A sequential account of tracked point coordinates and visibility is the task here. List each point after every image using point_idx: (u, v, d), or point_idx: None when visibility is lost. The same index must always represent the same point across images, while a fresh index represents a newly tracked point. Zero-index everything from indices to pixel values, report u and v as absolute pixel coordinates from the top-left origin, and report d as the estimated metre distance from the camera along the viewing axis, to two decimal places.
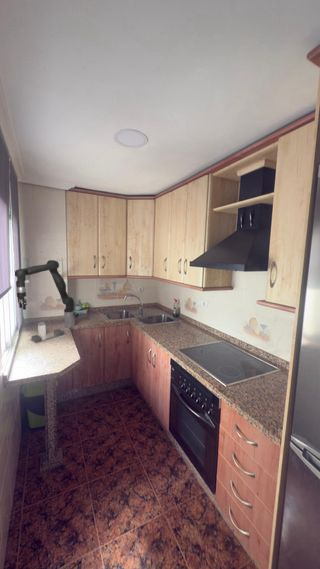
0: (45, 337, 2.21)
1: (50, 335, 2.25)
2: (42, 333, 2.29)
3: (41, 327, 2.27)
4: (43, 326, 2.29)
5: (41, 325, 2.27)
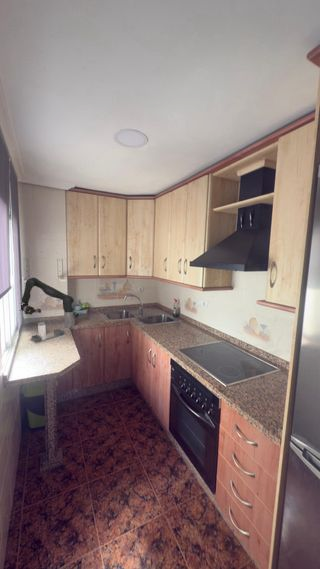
0: (45, 337, 2.21)
1: (50, 335, 2.25)
2: (42, 333, 2.29)
3: (41, 327, 2.27)
4: (43, 326, 2.29)
5: (41, 325, 2.27)
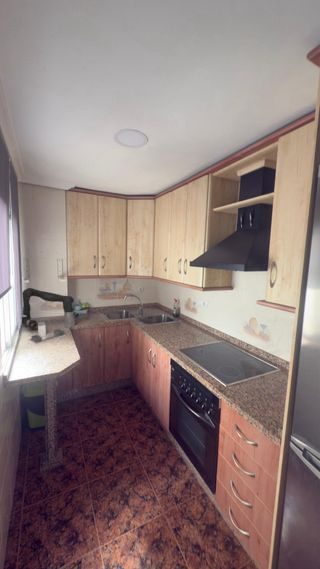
0: (45, 337, 2.21)
1: (50, 335, 2.25)
2: (42, 333, 2.29)
3: (41, 327, 2.27)
4: (43, 326, 2.29)
5: (41, 325, 2.27)
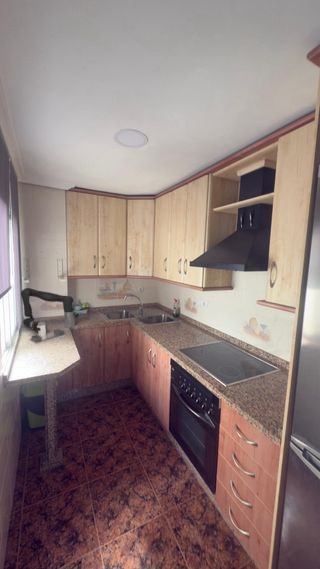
0: (45, 337, 2.21)
1: (50, 335, 2.25)
2: (42, 333, 2.29)
3: (41, 327, 2.27)
4: (43, 326, 2.29)
5: (41, 325, 2.27)
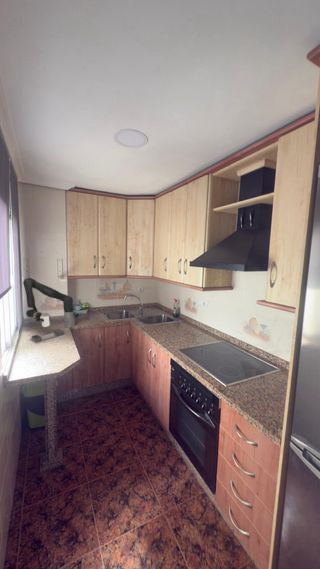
0: (45, 337, 2.21)
1: (50, 335, 2.25)
2: (46, 324, 2.21)
3: (45, 318, 2.19)
4: (47, 317, 2.21)
5: (45, 316, 2.19)
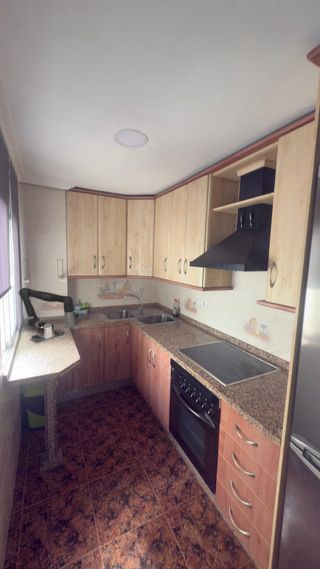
0: (45, 337, 2.21)
1: None
2: (48, 335, 2.21)
3: (47, 329, 2.19)
4: (49, 328, 2.21)
5: (47, 327, 2.19)
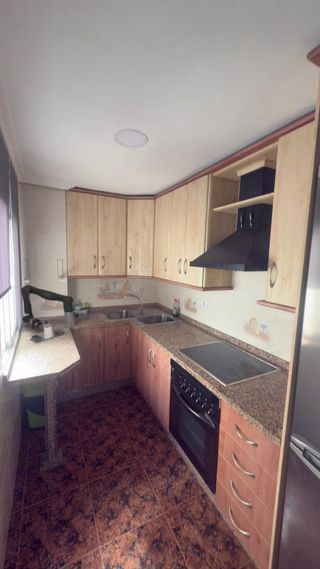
0: (45, 337, 2.21)
1: None
2: (48, 335, 2.21)
3: (47, 329, 2.19)
4: (49, 328, 2.21)
5: (47, 327, 2.19)
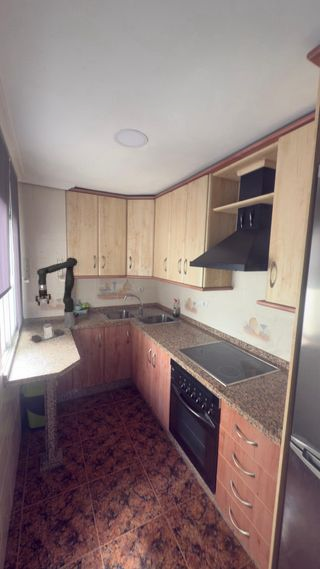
0: (45, 337, 2.21)
1: None
2: (48, 335, 2.21)
3: (47, 329, 2.19)
4: (49, 328, 2.21)
5: (47, 327, 2.19)
